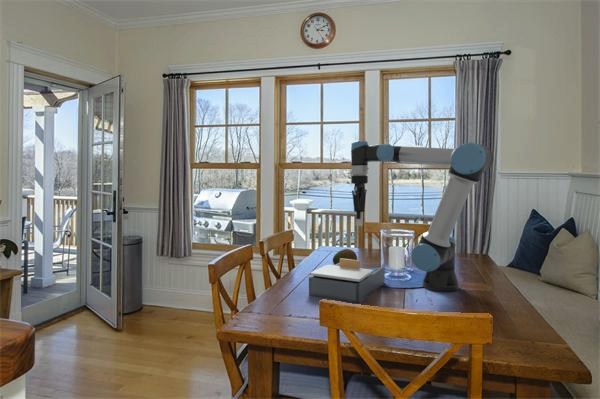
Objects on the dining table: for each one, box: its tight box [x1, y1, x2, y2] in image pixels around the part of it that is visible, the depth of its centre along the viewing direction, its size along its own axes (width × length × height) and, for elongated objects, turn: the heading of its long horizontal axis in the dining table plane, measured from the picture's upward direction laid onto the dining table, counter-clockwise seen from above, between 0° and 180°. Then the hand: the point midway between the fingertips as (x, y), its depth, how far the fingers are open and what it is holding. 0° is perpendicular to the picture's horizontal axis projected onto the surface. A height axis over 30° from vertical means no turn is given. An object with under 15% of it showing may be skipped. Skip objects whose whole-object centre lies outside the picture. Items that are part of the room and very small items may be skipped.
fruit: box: [332, 248, 358, 265], centre depth 211 cm, size 12×12×10 cm
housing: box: [308, 263, 386, 304], centre depth 173 cm, size 22×33×8 cm, turn 150°
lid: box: [309, 258, 375, 282], centre depth 166 cm, size 22×17×4 cm
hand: (359, 225), depth 182 cm, fingers closed
